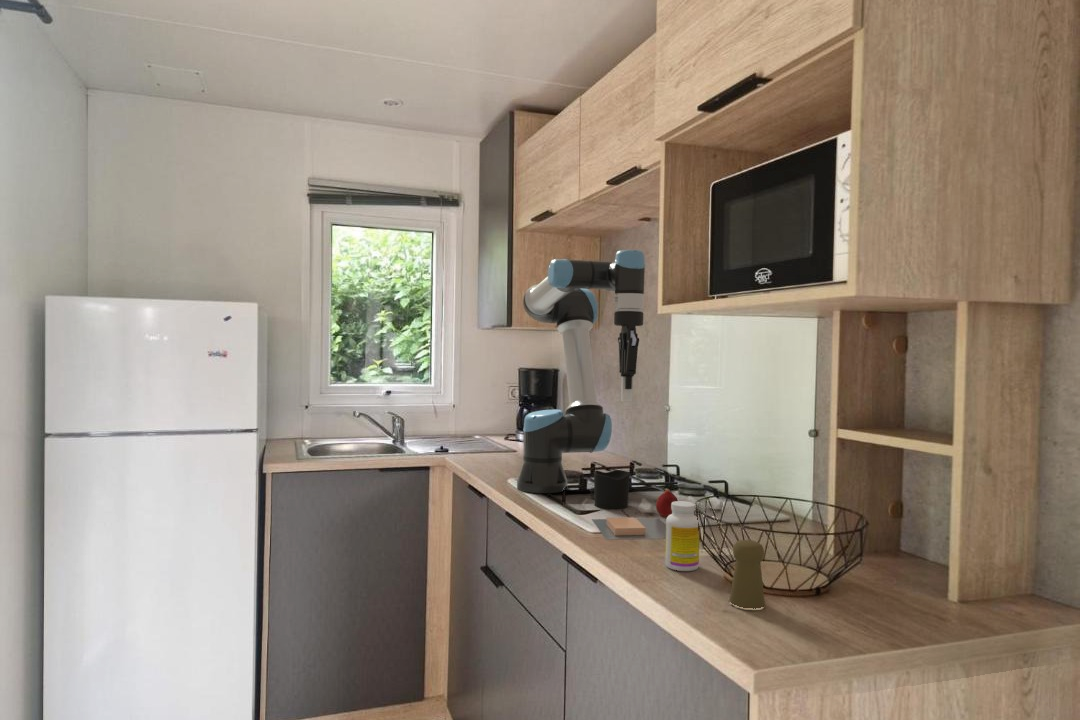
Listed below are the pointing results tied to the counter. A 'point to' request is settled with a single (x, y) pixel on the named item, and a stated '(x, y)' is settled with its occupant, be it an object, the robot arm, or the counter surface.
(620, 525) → the tile
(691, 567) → the supplement bottle
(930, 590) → the counter surface
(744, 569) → the cork
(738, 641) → the counter surface
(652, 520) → the slate board
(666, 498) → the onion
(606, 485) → the pen holder
